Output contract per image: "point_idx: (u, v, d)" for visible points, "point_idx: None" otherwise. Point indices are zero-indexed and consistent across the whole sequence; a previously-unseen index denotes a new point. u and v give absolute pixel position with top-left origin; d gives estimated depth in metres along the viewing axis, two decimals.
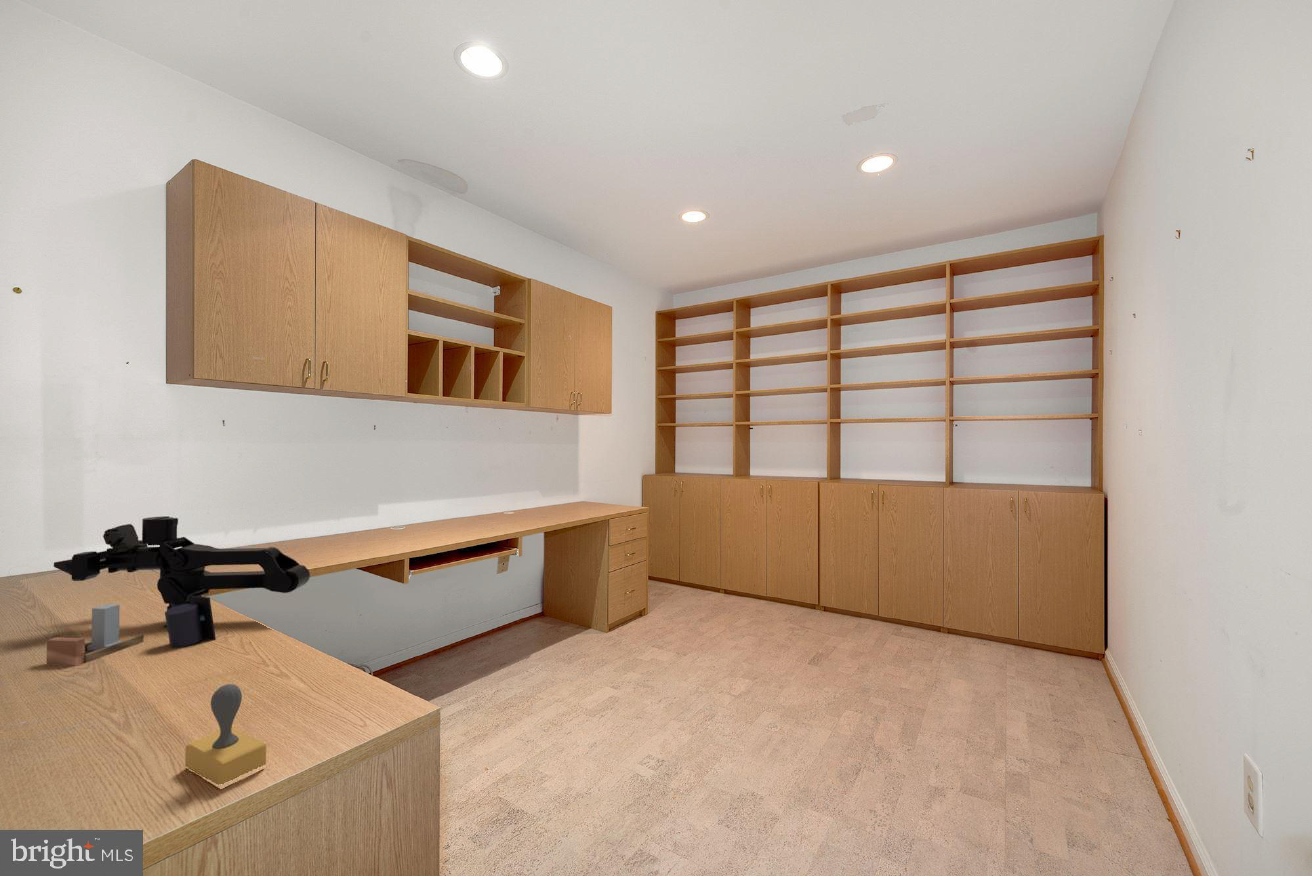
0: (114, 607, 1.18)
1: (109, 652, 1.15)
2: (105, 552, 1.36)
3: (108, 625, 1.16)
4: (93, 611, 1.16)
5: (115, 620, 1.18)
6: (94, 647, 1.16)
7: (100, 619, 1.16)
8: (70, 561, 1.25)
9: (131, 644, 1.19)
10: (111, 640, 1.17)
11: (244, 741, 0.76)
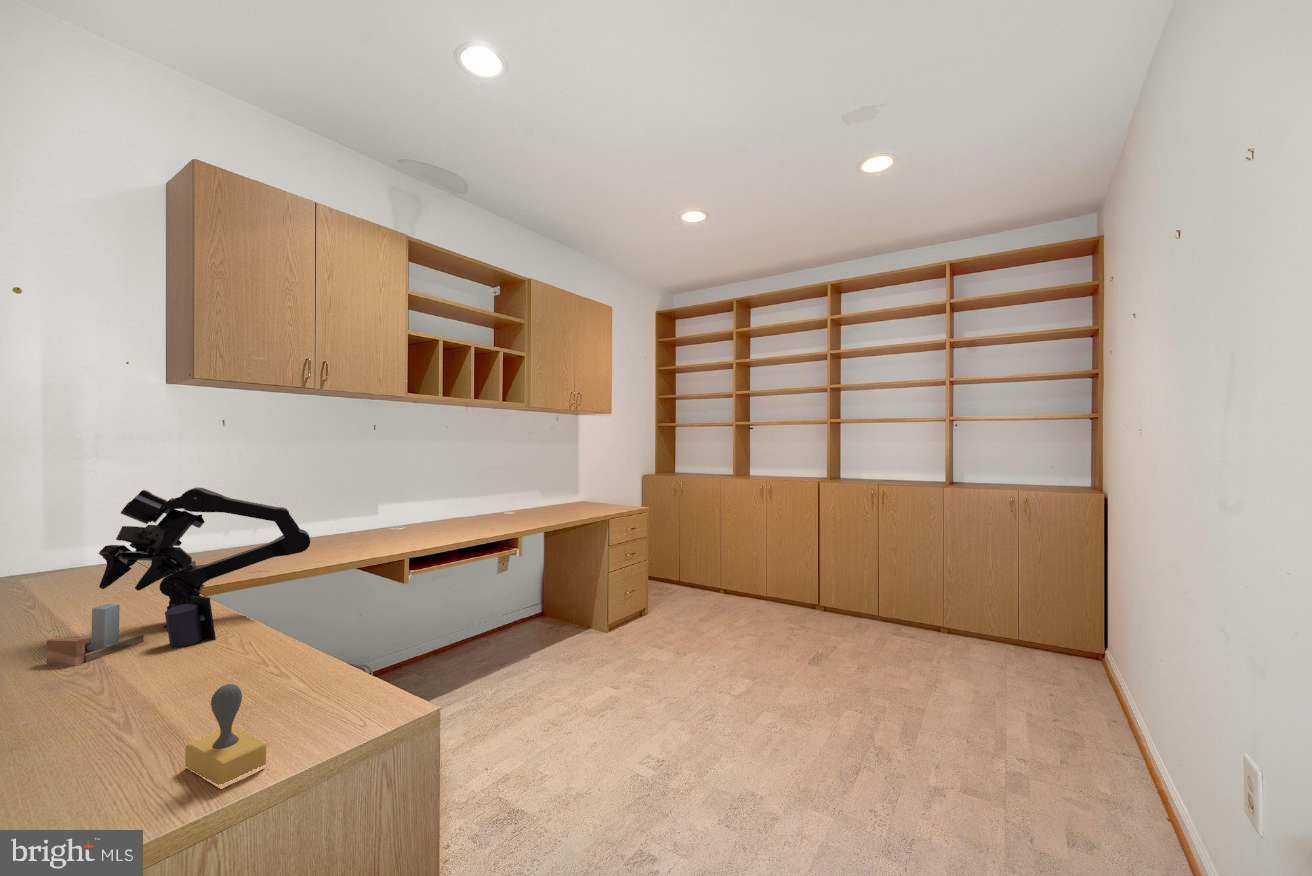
0: (114, 607, 1.18)
1: (109, 652, 1.15)
2: (110, 572, 1.22)
3: (108, 625, 1.16)
4: (93, 611, 1.16)
5: (115, 620, 1.18)
6: (94, 647, 1.16)
7: (100, 619, 1.16)
8: (154, 570, 1.22)
9: (131, 644, 1.19)
10: (111, 640, 1.17)
11: (244, 741, 0.76)
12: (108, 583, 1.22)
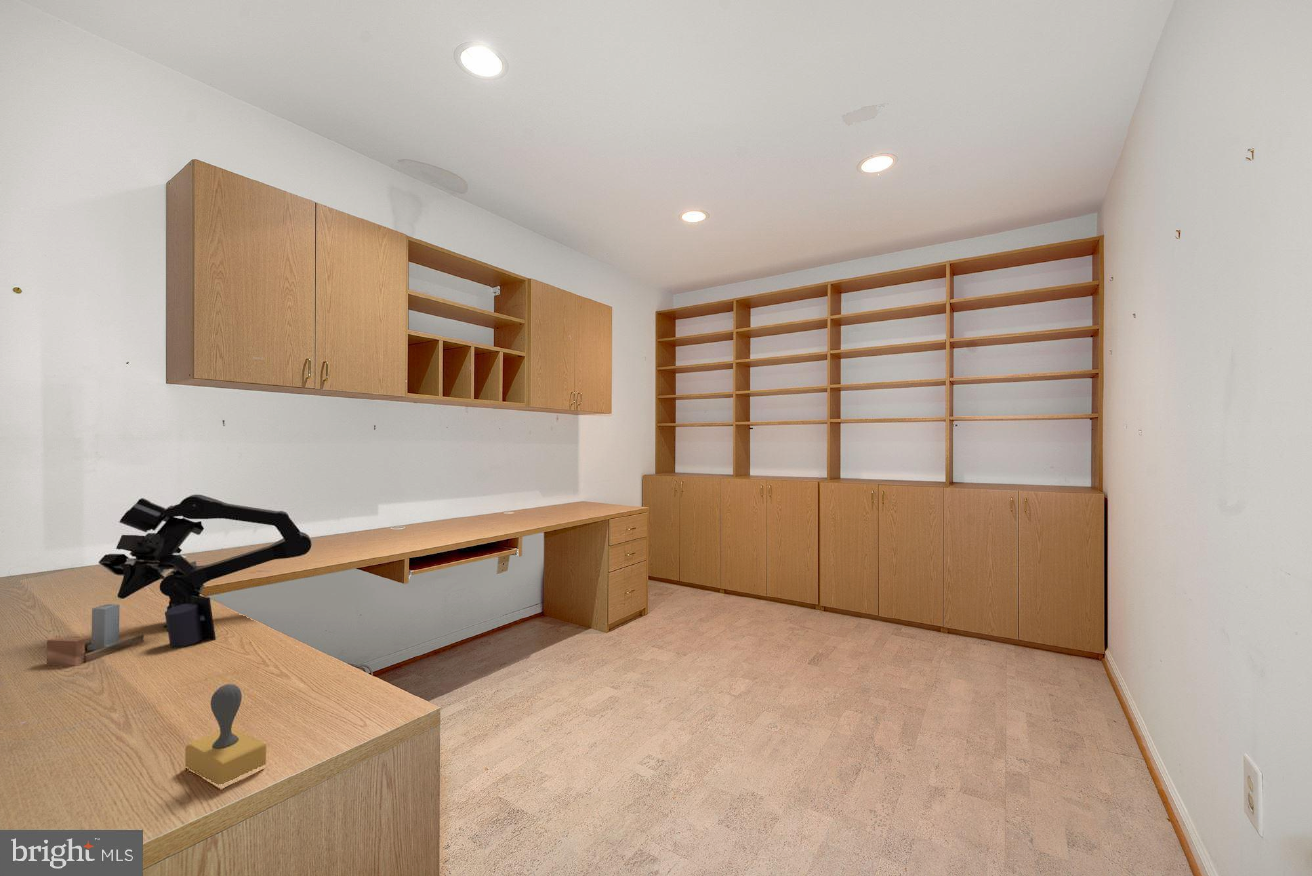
0: (114, 607, 1.18)
1: (109, 652, 1.15)
2: (128, 581, 1.22)
3: (108, 625, 1.16)
4: (93, 611, 1.16)
5: (115, 620, 1.18)
6: (94, 647, 1.16)
7: (100, 619, 1.16)
8: (138, 578, 1.23)
9: (131, 644, 1.19)
10: (111, 640, 1.17)
11: (244, 741, 0.76)
12: None
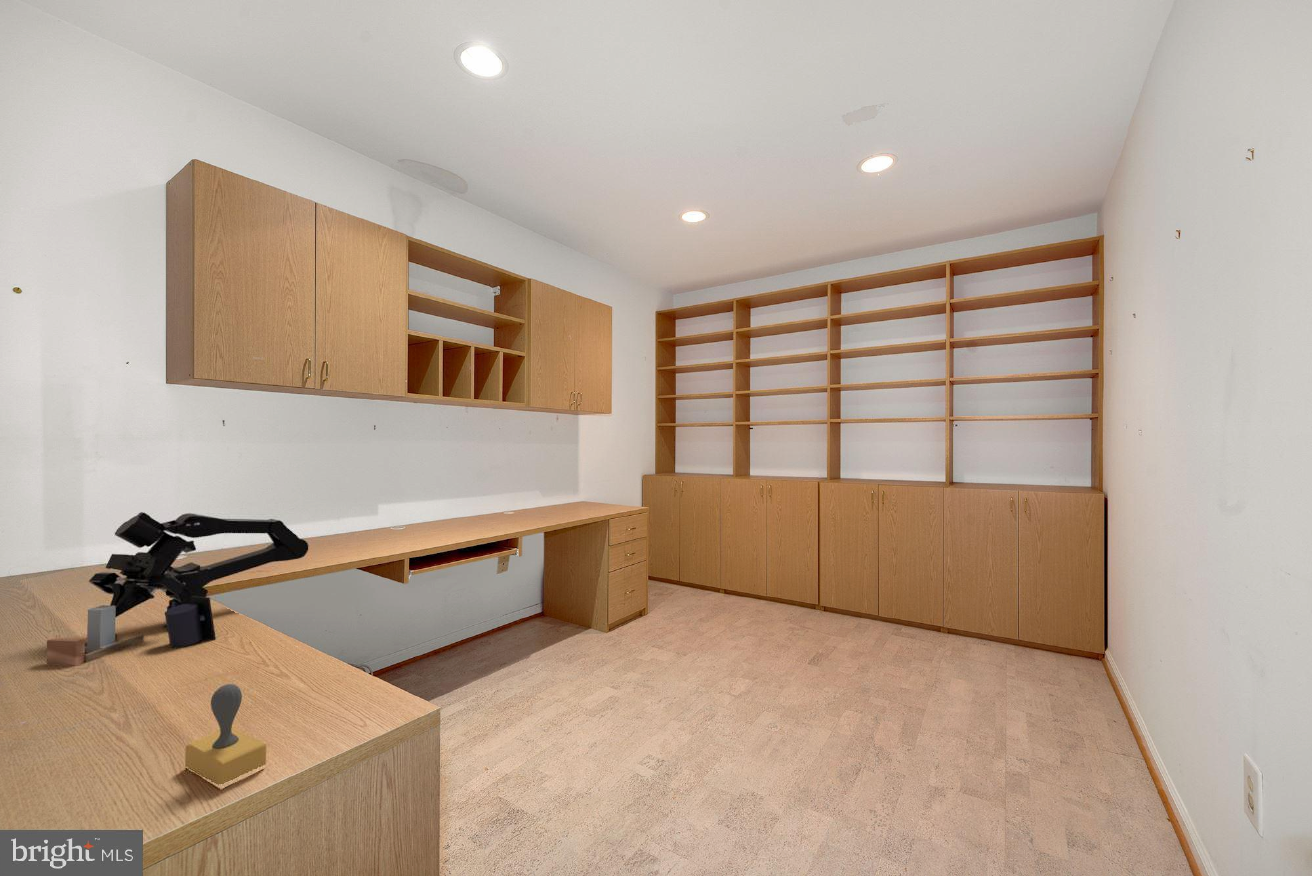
0: (110, 608, 1.17)
1: (109, 652, 1.15)
2: (117, 601, 1.20)
3: (104, 626, 1.16)
4: (89, 612, 1.15)
5: (111, 621, 1.17)
6: (90, 649, 1.15)
7: (95, 620, 1.15)
8: (128, 598, 1.21)
9: (131, 644, 1.19)
10: (107, 641, 1.16)
11: (244, 741, 0.76)
12: (115, 613, 1.20)
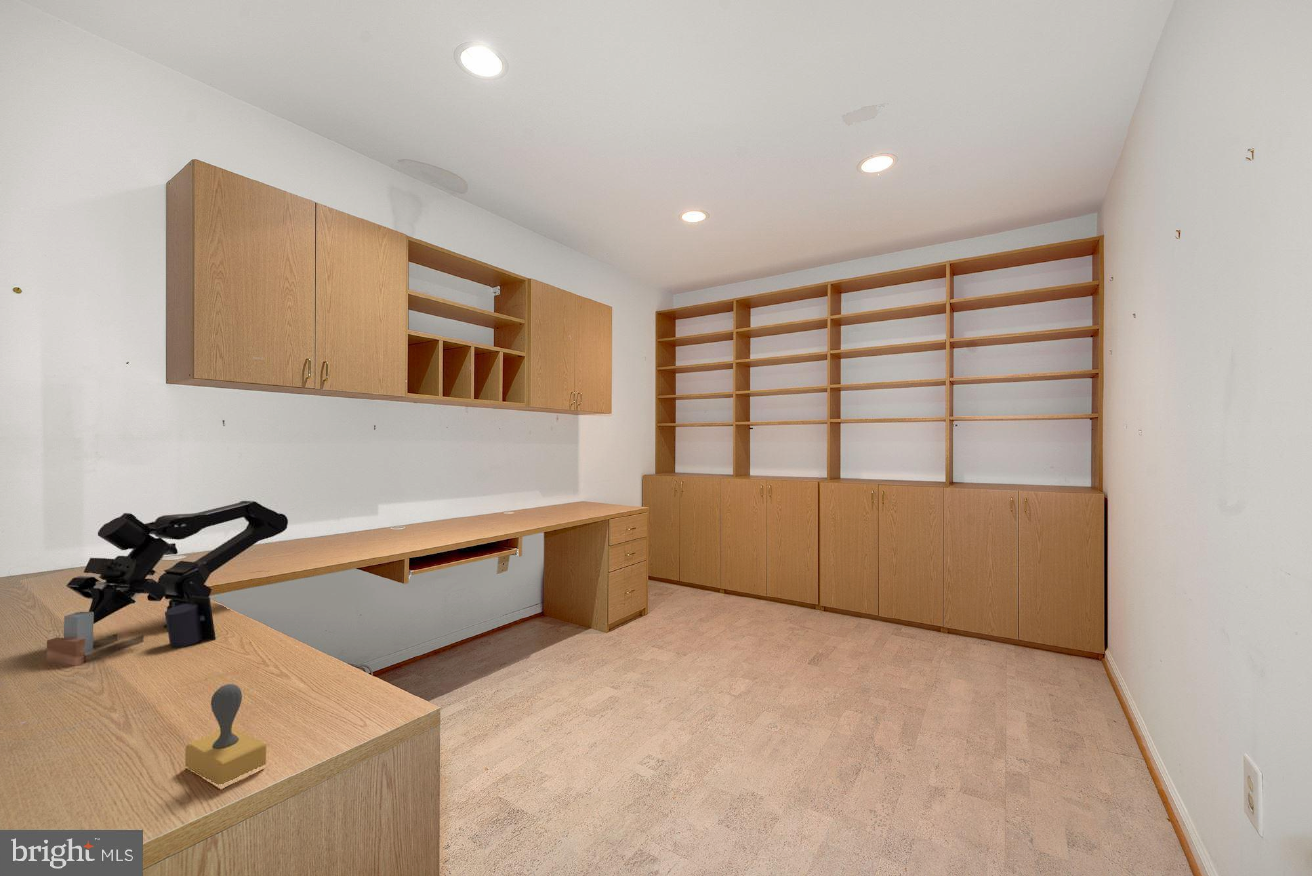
0: (88, 615, 1.12)
1: (109, 652, 1.15)
2: (96, 607, 1.16)
3: (81, 633, 1.11)
4: (65, 619, 1.11)
5: (89, 628, 1.13)
6: None
7: (72, 627, 1.11)
8: (107, 603, 1.16)
9: (131, 644, 1.19)
10: None
11: (244, 741, 0.76)
12: None
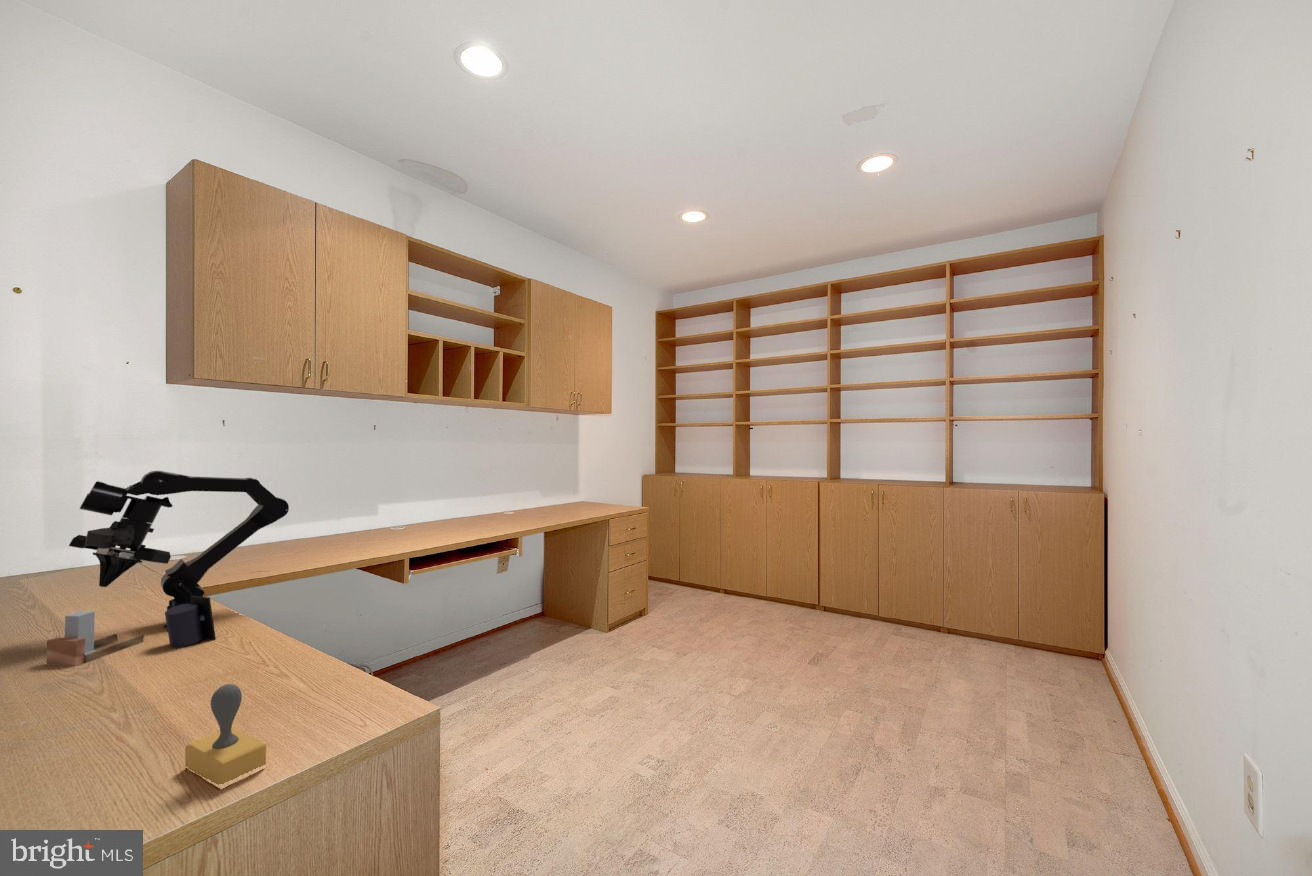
0: (89, 614, 1.13)
1: (109, 652, 1.15)
2: (106, 570, 1.23)
3: (82, 633, 1.11)
4: (66, 619, 1.11)
5: (90, 628, 1.13)
6: None
7: (73, 627, 1.11)
8: (116, 568, 1.23)
9: (131, 644, 1.19)
10: (85, 649, 1.12)
11: (244, 741, 0.76)
12: None
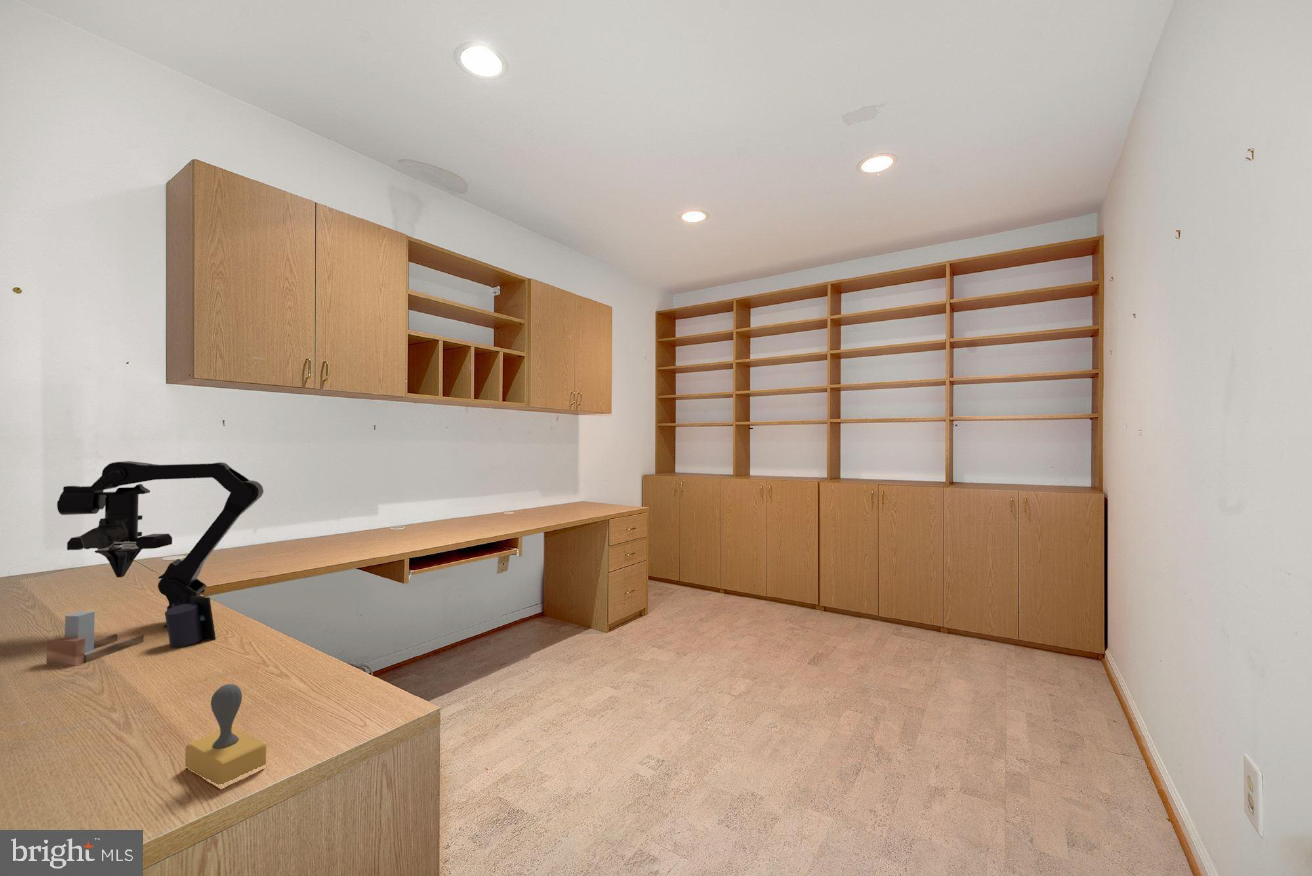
0: (89, 614, 1.13)
1: (109, 652, 1.15)
2: (116, 563, 1.28)
3: (82, 633, 1.11)
4: (66, 619, 1.11)
5: (90, 628, 1.13)
6: None
7: (73, 627, 1.11)
8: (125, 559, 1.28)
9: (131, 644, 1.19)
10: (85, 649, 1.12)
11: (244, 741, 0.76)
12: None
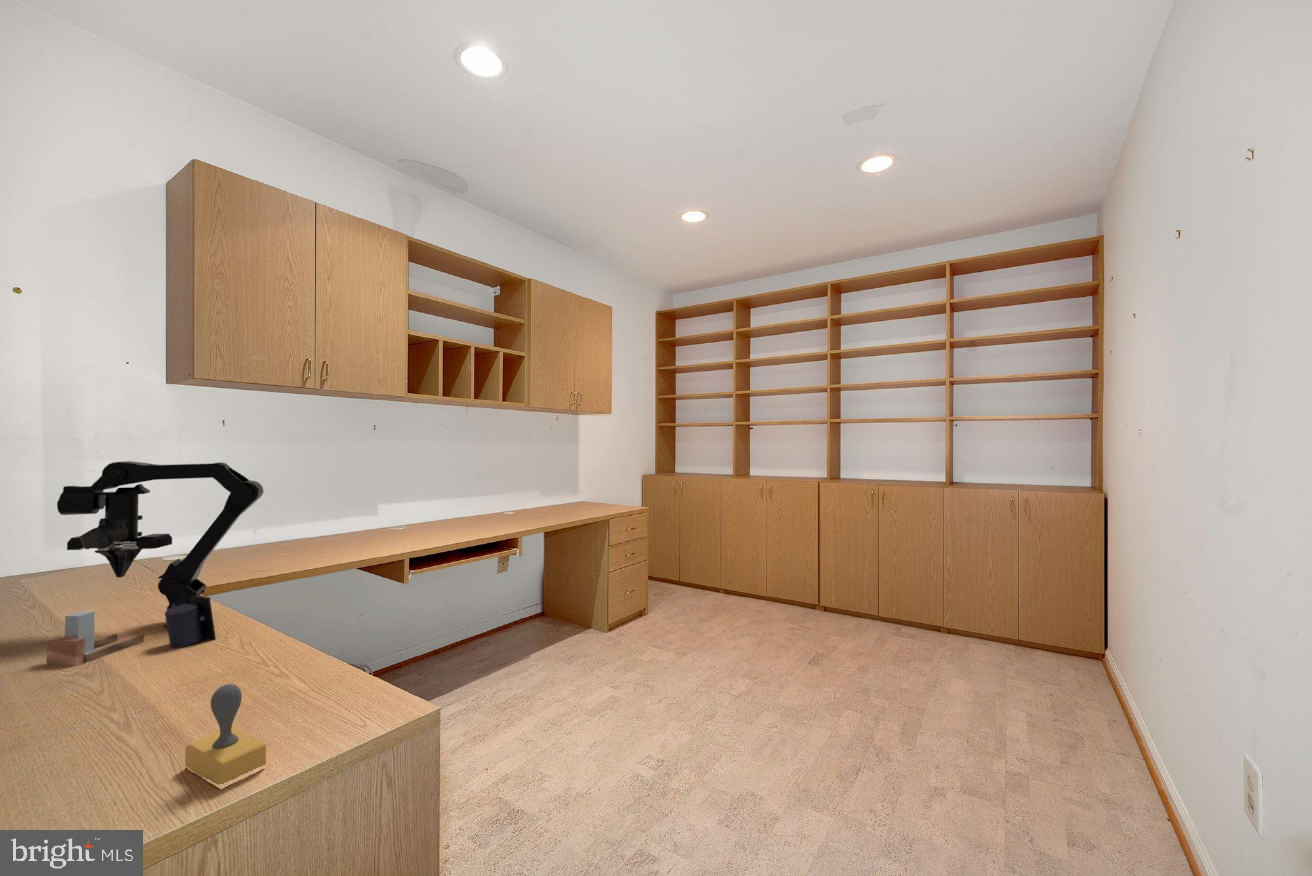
0: (89, 614, 1.13)
1: (109, 652, 1.15)
2: (116, 563, 1.28)
3: (82, 633, 1.11)
4: (66, 619, 1.11)
5: (90, 628, 1.13)
6: None
7: (73, 627, 1.11)
8: (125, 559, 1.28)
9: (131, 644, 1.19)
10: (85, 649, 1.12)
11: (244, 741, 0.76)
12: None
